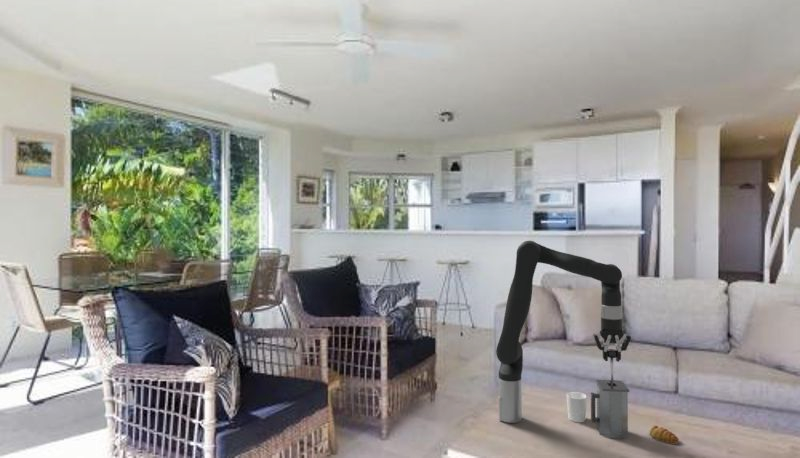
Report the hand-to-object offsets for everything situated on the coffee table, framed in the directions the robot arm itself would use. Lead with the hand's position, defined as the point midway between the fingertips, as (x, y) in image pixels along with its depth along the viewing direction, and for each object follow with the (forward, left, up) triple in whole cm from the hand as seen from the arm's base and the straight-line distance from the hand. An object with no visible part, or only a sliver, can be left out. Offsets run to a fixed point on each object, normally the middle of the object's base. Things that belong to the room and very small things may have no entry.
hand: (611, 360), depth 181 cm
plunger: (0, 0, -11) cm, 11 cm away
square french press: (-1, 0, -28) cm, 28 cm away
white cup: (-11, +11, -28) cm, 32 cm away
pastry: (+17, -2, -29) cm, 34 cm away
